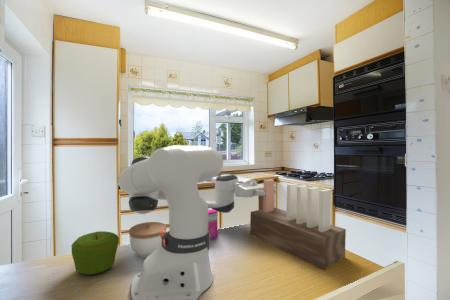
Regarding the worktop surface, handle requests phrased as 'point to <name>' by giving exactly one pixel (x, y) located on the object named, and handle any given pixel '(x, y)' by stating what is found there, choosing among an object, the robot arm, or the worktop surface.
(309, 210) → the domino
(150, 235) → the lidded bowl
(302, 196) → the domino
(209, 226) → the supplement box
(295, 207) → the domino
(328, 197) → the domino
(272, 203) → the domino
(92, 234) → the apple
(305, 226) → the domino stand
